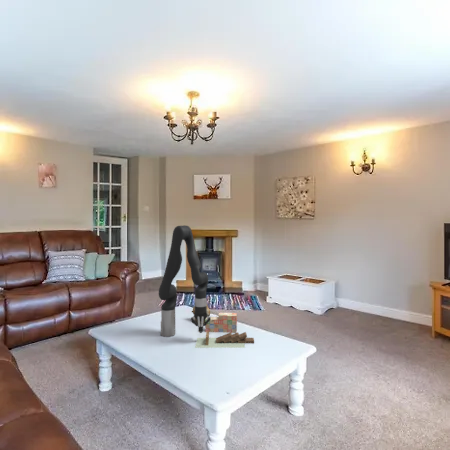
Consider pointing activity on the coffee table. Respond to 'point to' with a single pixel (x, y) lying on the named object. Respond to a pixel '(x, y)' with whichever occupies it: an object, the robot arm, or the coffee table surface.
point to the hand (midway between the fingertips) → (200, 332)
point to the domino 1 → (207, 337)
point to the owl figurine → (207, 313)
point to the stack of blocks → (222, 323)
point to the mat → (217, 344)
